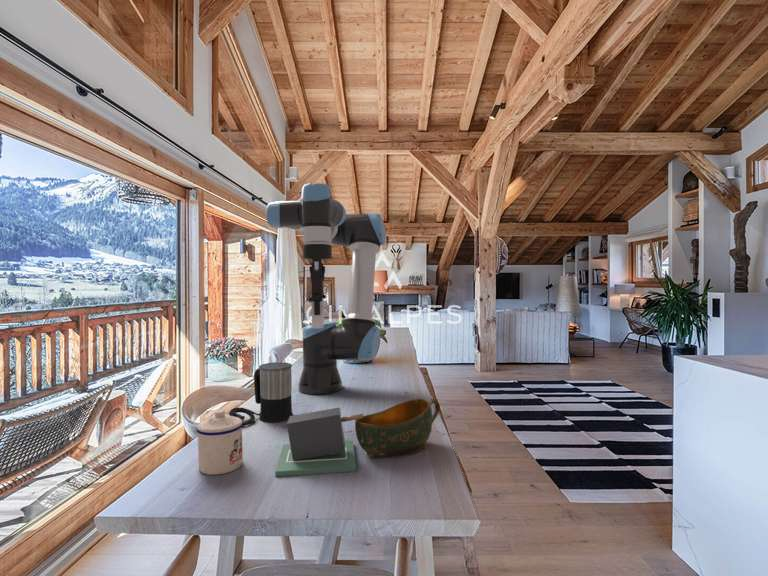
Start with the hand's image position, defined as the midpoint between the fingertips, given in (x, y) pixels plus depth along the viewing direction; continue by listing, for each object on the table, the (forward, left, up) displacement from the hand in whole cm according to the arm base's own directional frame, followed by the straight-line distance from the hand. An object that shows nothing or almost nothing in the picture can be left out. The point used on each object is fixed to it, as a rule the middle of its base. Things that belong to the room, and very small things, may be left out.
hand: (318, 325), depth 114 cm
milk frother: (-8, -16, -27) cm, 32 cm away
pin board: (+21, 0, -27) cm, 34 cm away
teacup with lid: (+20, -20, -27) cm, 39 cm away
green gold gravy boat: (+18, +18, -27) cm, 37 cm away
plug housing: (+21, +3, -25) cm, 33 cm away
